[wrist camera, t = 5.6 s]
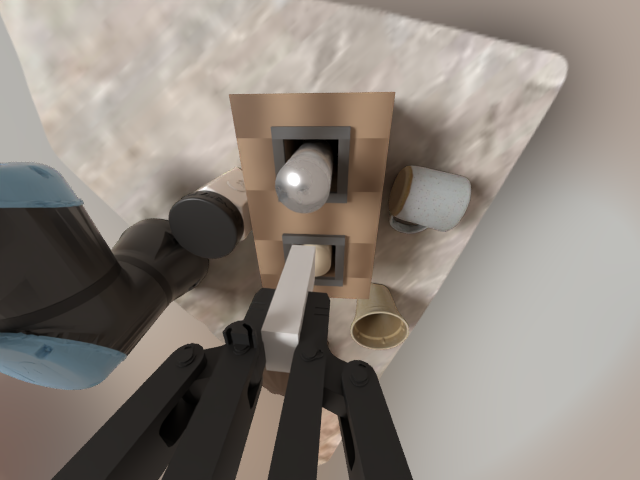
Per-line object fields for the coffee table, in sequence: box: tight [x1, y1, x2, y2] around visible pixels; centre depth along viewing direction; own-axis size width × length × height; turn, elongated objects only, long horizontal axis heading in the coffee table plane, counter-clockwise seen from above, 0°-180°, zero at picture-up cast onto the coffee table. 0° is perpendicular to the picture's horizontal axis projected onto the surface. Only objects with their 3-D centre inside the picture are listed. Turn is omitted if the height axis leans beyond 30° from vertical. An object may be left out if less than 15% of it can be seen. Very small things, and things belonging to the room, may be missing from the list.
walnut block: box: [229, 92, 395, 299], centre depth 31 cm, size 14×23×13 cm, turn 0°
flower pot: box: [350, 284, 409, 350], centre depth 43 cm, size 9×9×9 cm
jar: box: [169, 167, 252, 259], centre depth 33 cm, size 9×8×12 cm
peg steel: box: [275, 139, 334, 213], centre depth 22 cm, size 4×4×11 cm
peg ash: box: [301, 244, 332, 277], centre depth 33 cm, size 4×4×11 cm
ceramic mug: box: [389, 166, 471, 233], centre depth 33 cm, size 11×8×8 cm
